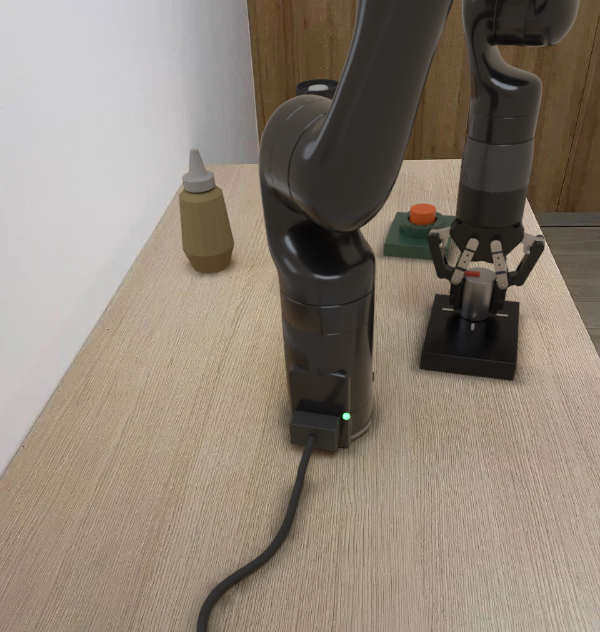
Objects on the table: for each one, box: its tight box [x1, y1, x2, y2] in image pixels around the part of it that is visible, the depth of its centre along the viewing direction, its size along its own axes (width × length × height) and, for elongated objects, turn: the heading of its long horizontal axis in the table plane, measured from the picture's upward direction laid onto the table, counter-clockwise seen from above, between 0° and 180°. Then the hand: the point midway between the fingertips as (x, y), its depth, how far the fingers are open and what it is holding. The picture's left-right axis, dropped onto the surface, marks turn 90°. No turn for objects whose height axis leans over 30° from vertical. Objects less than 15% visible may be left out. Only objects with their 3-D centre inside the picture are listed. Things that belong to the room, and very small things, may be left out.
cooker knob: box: [459, 266, 497, 321], centre depth 81 cm, size 4×4×6 cm
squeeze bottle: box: [178, 148, 235, 274], centre depth 95 cm, size 8×8×18 cm
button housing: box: [383, 210, 456, 261], centre depth 103 cm, size 12×10×4 cm
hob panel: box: [419, 293, 521, 382], centre depth 81 cm, size 14×11×3 cm
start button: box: [409, 202, 437, 225], centre depth 101 cm, size 4×4×2 cm
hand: (475, 308), depth 82 cm, fingers closed on cooker knob, 4 cm apart
